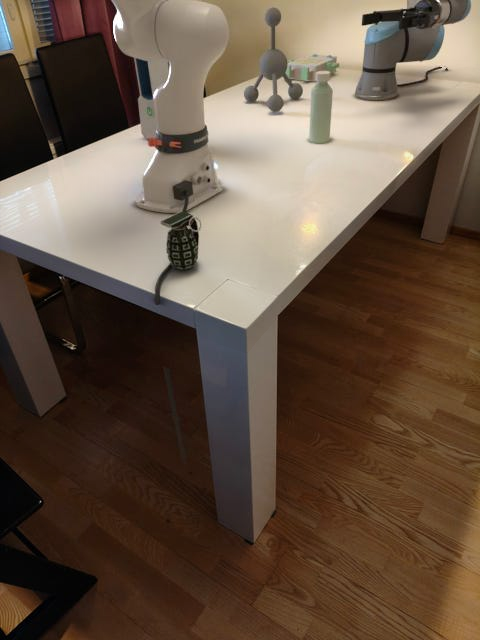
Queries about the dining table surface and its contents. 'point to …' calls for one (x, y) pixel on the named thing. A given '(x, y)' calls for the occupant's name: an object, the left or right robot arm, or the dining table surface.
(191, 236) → the grenade
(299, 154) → the dining table surface
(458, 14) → the right robot arm
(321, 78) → the cap
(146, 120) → the electronic device
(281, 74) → the molecular model
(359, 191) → the dining table surface
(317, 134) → the bottle
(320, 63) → the decorative block
